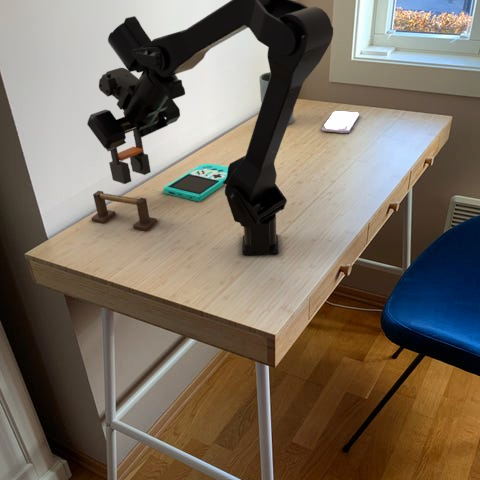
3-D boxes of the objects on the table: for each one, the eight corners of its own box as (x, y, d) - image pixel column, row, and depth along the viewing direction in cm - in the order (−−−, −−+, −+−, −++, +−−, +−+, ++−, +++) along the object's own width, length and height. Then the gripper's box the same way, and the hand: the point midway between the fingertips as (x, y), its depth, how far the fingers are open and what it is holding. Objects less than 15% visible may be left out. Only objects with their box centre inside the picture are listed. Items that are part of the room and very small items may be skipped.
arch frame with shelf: (125, 184, 106) (115, 135, 100) (112, 180, 108) (102, 131, 102) (150, 172, 111) (143, 124, 104) (138, 168, 113) (130, 121, 106)
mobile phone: (360, 112, 148) (349, 130, 137) (359, 115, 149) (348, 133, 138) (333, 110, 151) (320, 127, 140) (333, 113, 151) (320, 131, 140)
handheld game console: (240, 174, 121) (240, 168, 121) (200, 202, 111) (199, 196, 110) (204, 166, 126) (204, 161, 125) (162, 193, 116) (161, 187, 115)
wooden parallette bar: (157, 221, 105) (153, 196, 102) (146, 231, 102) (142, 205, 99) (103, 212, 110) (97, 187, 106) (92, 221, 107) (85, 196, 103)
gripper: (161, 44, 98) (132, 97, 111) (80, 66, 87) (58, 123, 100) (196, 94, 99) (163, 141, 112) (121, 122, 88) (94, 171, 101)
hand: (121, 143), depth 106 cm, fingers closed on arch frame with shelf, 7 cm apart
